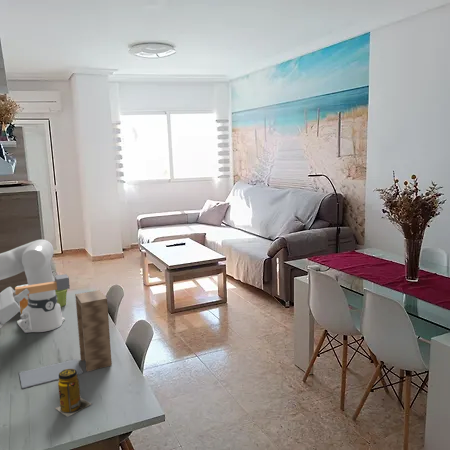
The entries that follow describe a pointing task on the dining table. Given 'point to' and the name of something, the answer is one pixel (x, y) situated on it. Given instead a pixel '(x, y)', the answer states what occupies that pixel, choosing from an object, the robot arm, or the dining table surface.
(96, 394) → the dining table surface
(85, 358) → the walnut shelf
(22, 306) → the small box
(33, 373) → the grey mat
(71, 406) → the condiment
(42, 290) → the hammer with orange handle
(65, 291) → the plant pot
